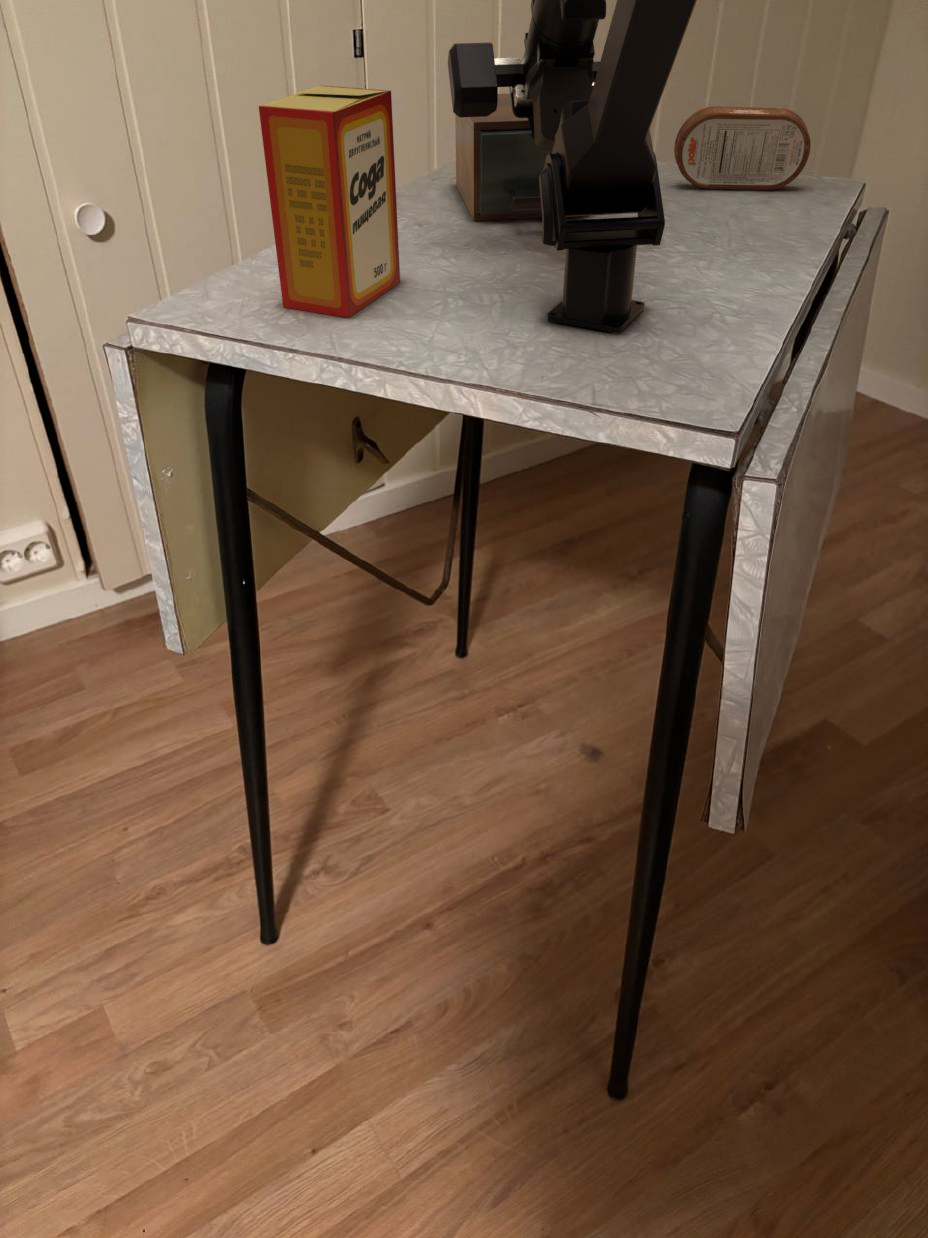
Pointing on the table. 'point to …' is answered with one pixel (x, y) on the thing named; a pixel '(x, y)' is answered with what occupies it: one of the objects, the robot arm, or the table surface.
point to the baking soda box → (332, 197)
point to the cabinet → (470, 154)
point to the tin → (742, 147)
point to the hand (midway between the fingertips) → (537, 135)
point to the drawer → (510, 172)
